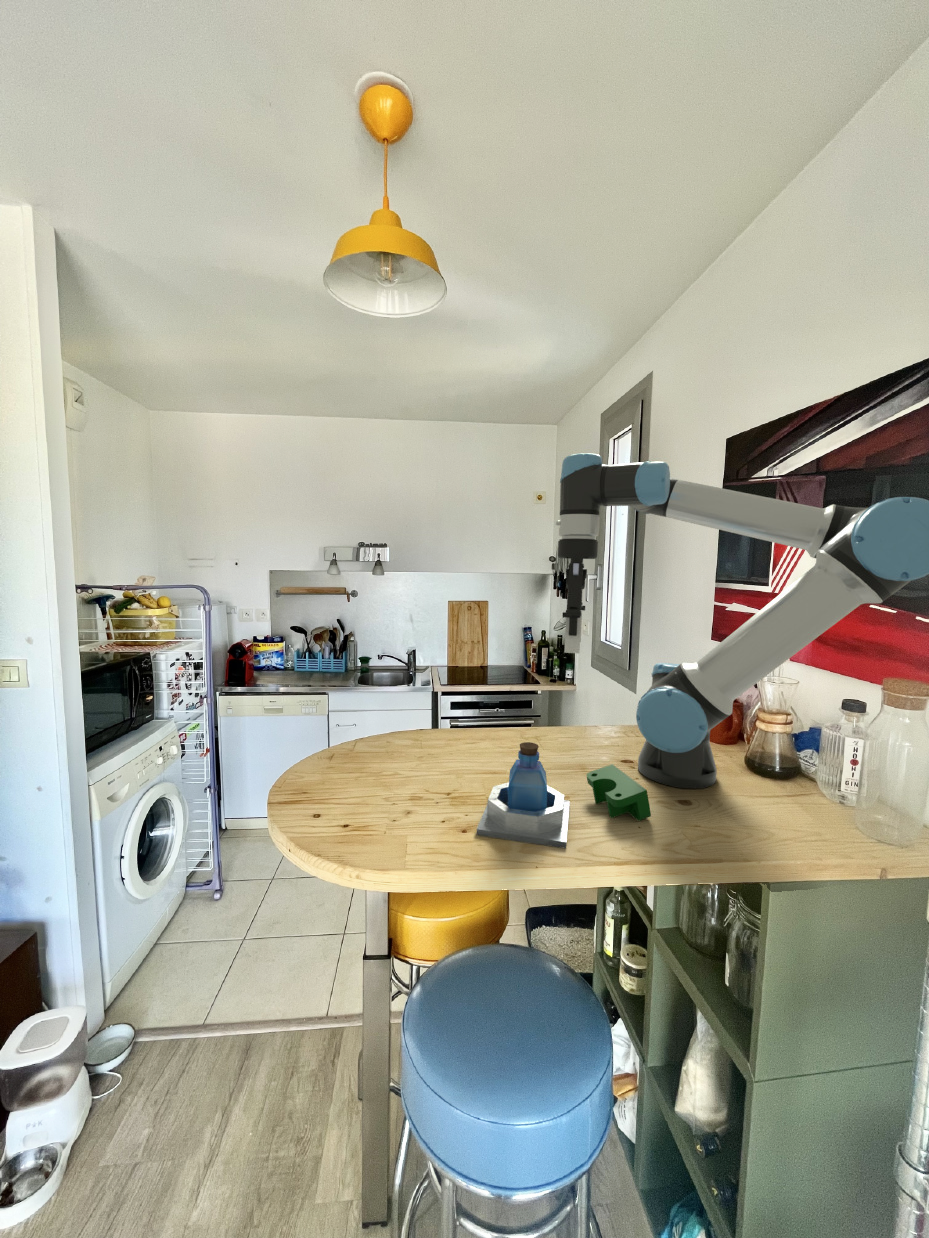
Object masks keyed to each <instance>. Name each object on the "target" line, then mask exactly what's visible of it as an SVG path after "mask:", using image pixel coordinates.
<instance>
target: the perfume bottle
mask: <svg viewBox="0 0 929 1238" xmlns="http://www.w3.org/2000/svg"><path fill="white" fill-rule="evenodd" d="M538 750H539V744H538V743H535V742H531V741H530V742H529V741H526V742H521V743H519V751H518V755H517V756H518V757H517V758H518V759H515V761H514V763H513V764H512V766H511V768H510V769H509V777H508V783H509V789H508V807H509V808H511V809H517V810H525V811H532V812H537V811H540V810H543V809H546V806H547V785H548V782H547V781H548V780H547V772H546V770H545V768H544V766H543V764H542V761H540V751H538Z"/></svg>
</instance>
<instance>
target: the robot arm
mask: <svg viewBox="0 0 929 1238" xmlns="http://www.w3.org/2000/svg"><path fill="white" fill-rule="evenodd" d="M559 484H560V492H559V519H560V520H556V521H555V525H556V526H557V527H558V526H559V527H558V535H559V537H561V539H559V540H558V542H557V557H558V558H559V559H570V562H569V564H568V568H567V567H566V568H565V578H566V581H565V585H566V589H567V597H566V598H567V599H566V601H567V602H566V610H565V611H563V612H562V615H561V616H562V618H565V630H564V631H565V632H564V653H565V654H567V653H568V654H580V648H581V647H580V646H581V642H582V641H581V640H582V624H583V623H582V622H583V621H582V620H583V612H585V611H586V605H583V602H582V601H583V590H585V588H586V579H587V577H588V576H587V575H588V569H587V568H585V564H584V560H596V559H597V558H598V550H599V548H598V547H599V541H598V540H597V539H596V538H597V537H598V536H599V533H600V517H601V516H600V510H601V509H600V508H601V507H626V506H627V507H630V508H632V509H633V510H634V511H636V512H638V513H642V514H645V515H650V514H651V515H654V516H659V517H664V518H669V519H674V520H677V521H681V522H685V523H690V524H694V525H699V526H702V527H707V528H711V529H715V530H720V531H724V532H729V533H733V534H736V535H741V536H745V537H748V538H749V537H750V538H754V539H758V540H762V541H767V542H771V543H775V544H779V545H784V546H787V547H792V548H795V549H800V550H804V551H806V552H807V554H808V555H809V557H810V558H812V559H815V564H814V565H813V566H812V567H811V568H809V570H808V571H806V572H805V573H804V574H803V575H801V576H800V577H799V578H798V579H796V580H795V581H793V583H792V584H790V585H789V586H788V587H786V588H785V589H784V590H783V591H782V592H780V593H779V594H778V595H777V596H775V598H773V599H772V600H770V602H769V603H767V604H765V606H764V607H762V608H761V609H760V610H759V611H758V612H756V613H755V614H754V615H753V616H751V617H750V618H749V619H748V620H746V621H745V622H743V624H742V625H740V626H739V627H738V628H737V629H736V630H734V631H733V632H732V633H731V634H730V635H728V636H727V637H726V638H725V639H723V640H722V641H721V642H720V643H718V644H717V645H716V646H715V647H714V648H712V649H711V650H710V651H708V652H707V653H706V654H705V655H704V656H702V657H701V658H700V659H699V660H698V661H696V662H688V661H687V662H686V661H684V662H681V663H669V662H668V663H667V662H657V663H655V664H654V666H653V669H652V672H651V677H652V680H651V686H650V687H649V688H648V690H647V691H646V692H645V693H644V694H643V695H642V696H641V697H640V700H638V703H637V708H636V714H635V715H636V717H635V719H636V724H637V727H638V730H639V732H640V733H641V735H642V736H643V738H644V739H645V741H644V743H643V746H642V747H641V750H640V752H639V755H638V757H637V758H638V759H637V760H638V761H637V769H638V772H640V773H641V774H642V776H644V777H645V778H647V779H649V780H651V781H654V782H657V783H659V784H662V785H665V786H669V787H674V788H680V789H681V788H682V789H693V790H694V789H704V788H709V787H711V786H713V785H715V783H716V782H717V774H718V771H717V766H716V762H715V759H714V754H713V751H712V747H711V742H710V739H711V738H710V736H711V730H712V729H713V728H715V727H716V726H717V725H719V724H720V723H722V722H723V721H724V720H726V719H727V718H728V717H729V716H731V715H732V714H733V709H734V708H733V705H734V701H735V700H736V699H737V698H739V697H740V696H742V695H743V694H745V692H747V691H748V690H749V689H750V688H752V687H753V686H755V685H756V684H757V683H759V682H760V681H762V680H763V679H764V678H765V677H767V676H768V675H769V674H771V673H772V672H773V671H775V670H776V669H777V668H779V667H780V666H781V665H783V664H784V663H785V662H786V661H788V660H789V659H791V658H792V657H793V656H794V655H796V654H797V653H799V652H800V651H801V650H803V649H804V648H805V647H806V646H808V645H809V644H811V643H812V642H813V641H814V640H816V639H817V638H818V637H819V636H822V634H823V633H825V632H826V631H828V630H829V629H831V628H832V627H833V626H835V625H836V624H837V623H838V622H839V621H841V620H842V619H844V618H845V617H846V616H848V615H849V614H850V613H851V612H853V611H854V610H855V609H857V608H858V607H860V606H861V605H864V604H882V603H883V602H884V601H886V600H887V599H888V598H890V597H891V596H893V594H894V595H895V593H897V592H898V591H899V590H901V589H902V588H904V587H905V586H906V585H908V584H909V583H910V582H911V581H915V580H918V579H921V578H925V577H926V576H928V575H929V500H928V499H925V498H921V497H915V496H897V497H896V496H895V497H889V498H886V499H883V500H880V501H878V502H877V503H875V504H872V505H870V506H869V507H853V506H845V505H838V504H834V503H833V504H830V505H828V506H827V507H824V508H822V507H818V506H817V507H816V506H812V505H807V504H801V503H798V502H797V503H796V502H793V501H787V500H783V499H782V500H781V499H777V498H773V497H766V496H762V495H757V494H754V493H753V494H752V493H746V492H742V491H738V490H737V491H736V490H732V489H727V488H722V487H717V486H712V485H708V484H707V485H706V484H703V483H697V482H692V481H687V480H681V479H676V478H673V477H671V472H670V466H669V464H668V463H667V462H666V461H650V460H647V461H643V462H631V463H630V462H629V463H618V464H604V463H603V459H602V456H601V455H600V454H597V453H590V452H589V453H584V452H583V453H573V454H570V455H568V456H566V457H564V459H563V461H562V464H561V475H560V480H559Z"/></svg>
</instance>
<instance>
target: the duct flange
mask: <svg viewBox="0 0 929 1238" xmlns="http://www.w3.org/2000/svg"><path fill="white" fill-rule="evenodd" d="M508 789H509V782H505V783H502V784H496V785H493V786H492V789H491V792H490V793H489V796H488V798H487V803H486V806H485V808H484V811H483V813H482V814H481V815H482V816H481V818H480V820H479V822H478V824H477V827H476V833H475V834H476V836H480V837H487V838H495V839H500V840H507V841H514V842H521V843H529V844H533V845H542V846H547V847H555V848H560V849H567V840H568V839H567V838H568V829H569V828H568V827H569V817H570V816H569V815H570V806H571V805H570V803H571V801H570V800H566V799H565V794H563V793H562V792H559V791H558V790H556V789H555V788H553V787H551V786H549V785H548V784H547V806H546V809H543V810H540V811H537V812H532V811H525V810H517V809H511V808H509V807H508Z"/></svg>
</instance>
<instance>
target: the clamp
mask: <svg viewBox="0 0 929 1238" xmlns="http://www.w3.org/2000/svg"><path fill="white" fill-rule="evenodd" d="M586 780H587V781H586V782H587V784H588V785H589V786H590V787H591V788H592V793H593V794H592V795H593V798H594V803H595V804H596V805H599V804H601V803H606V805H607V811H608V816H609V818H611V819H612V818H616V817H618V816H620V815H621V816H622V815H624V814H626V813H628V814H630V815H631V817H633V818H634V819H635V820H636V821H638V822H640V821H642V820H644V819H648V818H651V816H652V812H651V807H650V806H651V805H650V801H649V795H648V790H647V789H646V788H645V787H644V786H642V785H641V784H640V783H638V782H637V781H635V780H634V779H633V778H632V777H630V776H629V775H627V774H626V773H625V772H623V771H622V770H621V769H619V768H618V767H617V766H616V765H614V764H613V763H611V764H609V765H606V766H603V767H601V768H598V769H594V770H591V771H589V772H588V773H586Z"/></svg>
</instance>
